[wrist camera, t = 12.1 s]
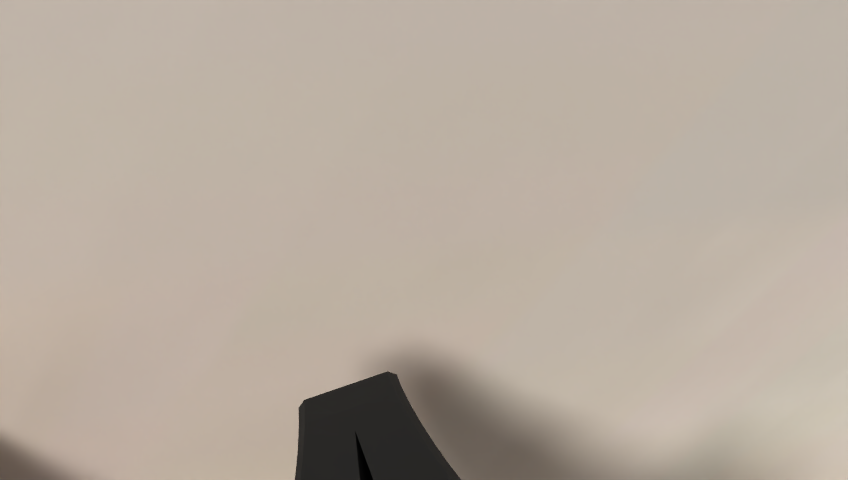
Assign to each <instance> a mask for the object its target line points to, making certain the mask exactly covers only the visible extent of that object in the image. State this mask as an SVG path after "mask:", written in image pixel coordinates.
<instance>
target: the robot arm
mask: <svg viewBox="0 0 848 480" xmlns="http://www.w3.org/2000/svg"><path fill="white" fill-rule="evenodd" d="M295 480H461V479H460V478H459V477H458V475H457V474H456V473H455V471H454V470H453V469H452V468H451V466H450V465H449V464H448V462H447V461H446V460H445V458H444V457H443V455H442V454H441V452H440V451H439V450H438V448H437V447H436V445H435V444H434V442H433V441H432V439H431V438H430V436H429V435H428V433H427V432H426V430H425V428H424V427H423V425H422V424H421V422H420V421H419V419H418V417H417V415H416V414H415V412H414V410H413V409H412V407H411V405H410V403H409V401H408V399H407V397H406V395H405V393H404V391H403V389H402V387H401V385H400V382H399V379H398V377H397V375H396V374H393V373H390V372H385V373H382V374H379V375H376V376H373V377H370V378H367V379H364V380H361V381H359V382H356V383H353V384H350V385H347V386H344V387H341V388H338V389H335V390H332V391H329V392H326V393H323V394H320V395H318V396H315V397H312V398H309V399H306V400H304V401H303V403H302V404H301V406H300V407H299V438H298V455H297V466H296V475H295Z"/></svg>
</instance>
